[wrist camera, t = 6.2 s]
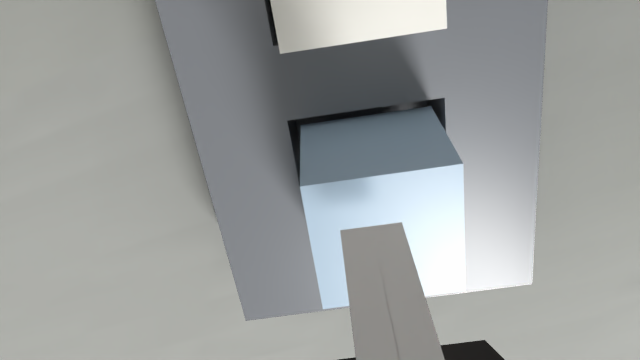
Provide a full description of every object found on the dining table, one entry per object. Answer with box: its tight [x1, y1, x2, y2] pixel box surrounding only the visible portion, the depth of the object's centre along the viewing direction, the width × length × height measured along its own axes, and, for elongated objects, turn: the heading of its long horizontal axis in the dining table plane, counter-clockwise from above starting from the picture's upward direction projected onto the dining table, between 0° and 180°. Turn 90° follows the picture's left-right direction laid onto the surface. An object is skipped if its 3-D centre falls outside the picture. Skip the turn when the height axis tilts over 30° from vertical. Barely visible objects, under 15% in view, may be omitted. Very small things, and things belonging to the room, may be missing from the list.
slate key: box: [300, 106, 466, 309], centre depth 18 cm, size 5×5×4 cm
